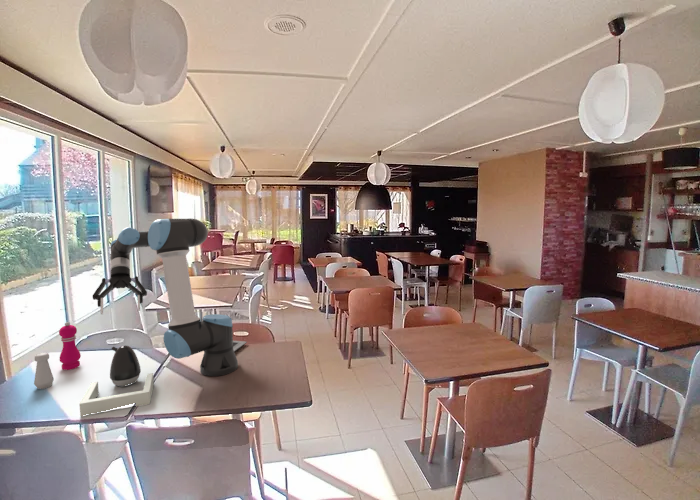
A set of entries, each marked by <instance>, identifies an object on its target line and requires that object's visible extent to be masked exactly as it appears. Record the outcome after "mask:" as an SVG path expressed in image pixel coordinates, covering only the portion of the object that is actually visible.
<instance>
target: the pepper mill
mask: <svg viewBox="0 0 700 500" xmlns="http://www.w3.org/2000/svg"><path fill="white" fill-rule="evenodd" d="M77 333H78V331H77V327H76V326H75V325H73V324H71V322H69V321H65V323H64V325H63V326H62V327H61V328H59V330H58V334H59V336H60V337H61V338H60V340H61V342H62V350H61V352H60V355H59V362H60V363H62V364H61V370H63V371H71V370H75V369H77V368H79V367H80V366H81V361H79V360H81V356H82V355H81V352H80V350H79V349H78V347H77V345H76V339H77V338H76V337H77V335H76V334H77Z"/></svg>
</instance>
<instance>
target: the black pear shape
mask: <svg viewBox="0 0 700 500" xmlns="http://www.w3.org/2000/svg"><path fill="white" fill-rule="evenodd" d="M111 350H112V351H114V354H113V355H112V356H113V357H112V360H111V364H110V369H109V378H110V380H111V382H112V383H113V385H115V386H116V387H121V386H124V387H126V386H125V385H128V384H131V383H133V384H134V383H135V381H136V382H137V380H139V377H140V376H141V375H140V374H141V371H142V369H141V365H140V362H139V358H138V356H137V354H136V352H135V351H134V349H133V348H132V347H131V346H129V345H121V346H120V347H116V346H112V347H111ZM131 385H132V384H131ZM128 386H129V385H128Z"/></svg>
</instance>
